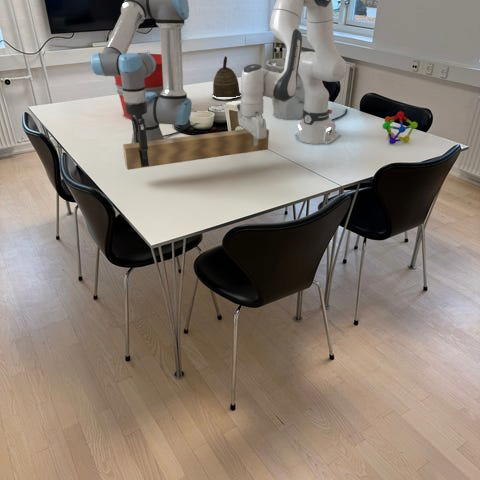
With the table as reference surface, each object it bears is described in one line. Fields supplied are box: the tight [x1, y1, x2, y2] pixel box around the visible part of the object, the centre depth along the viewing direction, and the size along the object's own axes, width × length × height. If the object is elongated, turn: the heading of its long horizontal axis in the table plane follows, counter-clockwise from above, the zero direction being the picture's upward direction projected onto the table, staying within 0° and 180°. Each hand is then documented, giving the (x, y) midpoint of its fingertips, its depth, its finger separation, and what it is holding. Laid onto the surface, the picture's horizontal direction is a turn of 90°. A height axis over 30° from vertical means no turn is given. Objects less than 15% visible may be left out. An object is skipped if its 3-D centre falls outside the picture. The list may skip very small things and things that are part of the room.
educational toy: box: [382, 110, 418, 145], centre depth 207 cm, size 16×13×15 cm
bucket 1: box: [113, 51, 163, 120], centre depth 242 cm, size 35×35×30 cm
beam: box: [122, 128, 270, 171], centre depth 173 cm, size 58×5×8 cm, turn 113°
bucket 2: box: [265, 57, 305, 121], centre depth 241 cm, size 30×30×28 cm
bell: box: [212, 56, 242, 97], centre depth 278 cm, size 19×26×20 cm
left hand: (143, 163), depth 168 cm, fingers closed on beam, 5 cm apart
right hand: (251, 142), depth 182 cm, fingers closed on beam, 5 cm apart
